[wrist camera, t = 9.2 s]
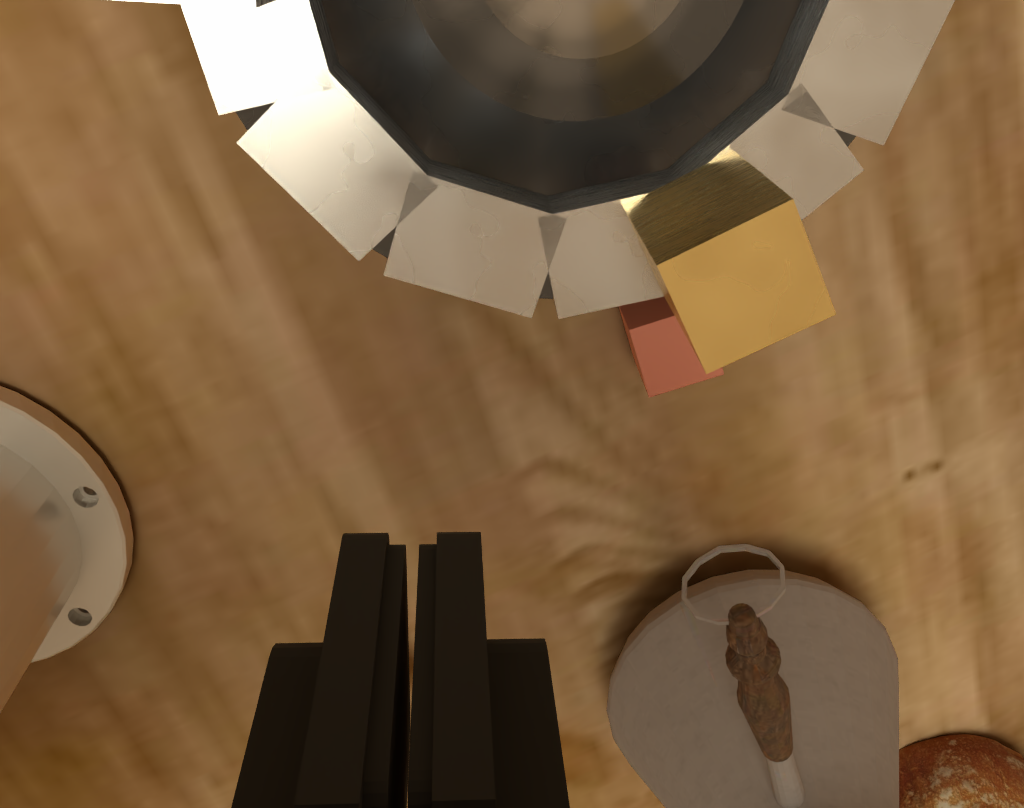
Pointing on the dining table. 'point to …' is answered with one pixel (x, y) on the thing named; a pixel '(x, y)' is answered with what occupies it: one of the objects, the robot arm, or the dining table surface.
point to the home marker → (661, 347)
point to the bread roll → (960, 774)
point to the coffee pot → (759, 695)
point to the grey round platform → (556, 80)
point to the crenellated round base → (594, 209)
